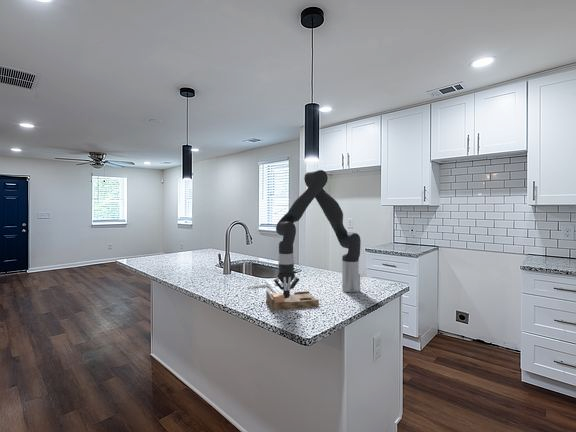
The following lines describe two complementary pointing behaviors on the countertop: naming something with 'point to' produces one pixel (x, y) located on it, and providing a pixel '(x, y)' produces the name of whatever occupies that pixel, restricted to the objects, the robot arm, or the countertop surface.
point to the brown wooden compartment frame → (293, 301)
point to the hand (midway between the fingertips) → (286, 297)
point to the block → (278, 297)
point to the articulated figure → (270, 285)
